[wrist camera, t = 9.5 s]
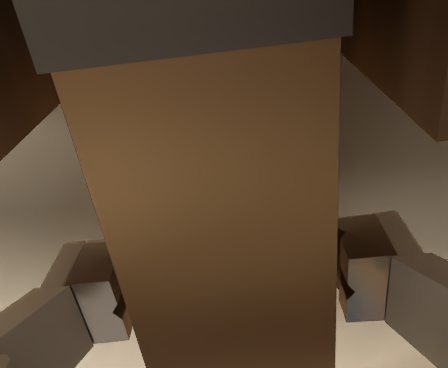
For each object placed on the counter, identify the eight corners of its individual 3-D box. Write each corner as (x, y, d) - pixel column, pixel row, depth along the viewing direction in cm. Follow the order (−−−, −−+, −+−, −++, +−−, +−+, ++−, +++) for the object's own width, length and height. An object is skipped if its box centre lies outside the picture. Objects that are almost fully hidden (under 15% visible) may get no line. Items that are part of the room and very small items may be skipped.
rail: (302, 355, 18) (336, 534, 12) (204, 363, 18) (196, 542, 13) (284, -103, 10) (358, -162, 4) (108, -78, 10) (-24, -105, 5)
